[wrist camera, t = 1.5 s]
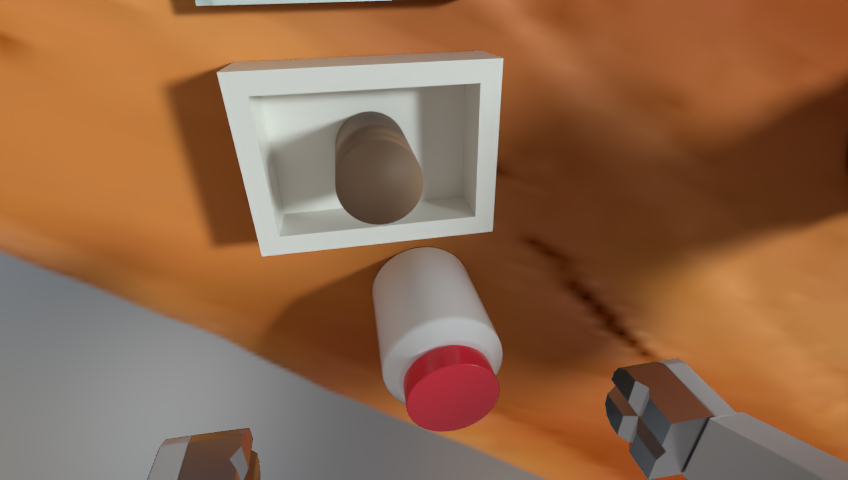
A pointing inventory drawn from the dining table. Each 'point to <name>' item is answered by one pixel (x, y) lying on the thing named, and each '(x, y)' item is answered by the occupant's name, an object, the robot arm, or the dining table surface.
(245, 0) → the tray
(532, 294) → the dining table surface
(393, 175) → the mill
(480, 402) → the pill bottle
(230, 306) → the dining table surface
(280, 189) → the white storage bin
